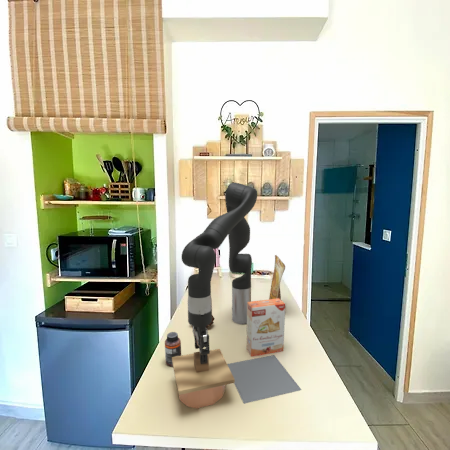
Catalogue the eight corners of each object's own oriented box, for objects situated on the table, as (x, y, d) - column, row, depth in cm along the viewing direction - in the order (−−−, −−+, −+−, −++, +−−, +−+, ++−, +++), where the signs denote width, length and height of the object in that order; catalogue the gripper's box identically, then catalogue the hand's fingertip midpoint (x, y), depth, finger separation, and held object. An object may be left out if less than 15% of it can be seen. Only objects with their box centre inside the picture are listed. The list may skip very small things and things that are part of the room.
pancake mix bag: (279, 302, 163) (281, 254, 158) (284, 319, 144) (285, 264, 140) (267, 302, 163) (268, 253, 159) (270, 318, 144) (271, 264, 140)
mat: (225, 365, 108) (225, 364, 108) (274, 356, 114) (274, 354, 114) (243, 405, 89) (243, 403, 89) (301, 391, 95) (301, 389, 95)
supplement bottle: (174, 355, 115) (173, 328, 113) (184, 361, 111) (184, 333, 109) (162, 362, 110) (161, 335, 108) (172, 369, 107) (171, 340, 105)
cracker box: (251, 358, 112) (251, 307, 109) (246, 350, 118) (246, 301, 115) (284, 352, 116) (285, 303, 113) (277, 344, 122) (278, 297, 118)
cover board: (171, 360, 100) (171, 345, 99) (219, 351, 105) (219, 337, 104) (178, 395, 84) (178, 377, 83) (234, 382, 89) (234, 365, 88)
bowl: (175, 380, 101) (175, 361, 100) (217, 371, 105) (217, 354, 104) (182, 413, 86) (181, 392, 85) (230, 402, 91) (230, 381, 90)
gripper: (184, 300, 97) (185, 345, 99) (192, 319, 83) (193, 371, 86) (206, 297, 99) (207, 341, 101) (217, 316, 85) (218, 366, 88)
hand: (200, 355), depth 94 cm, fingers open, 8 cm apart
